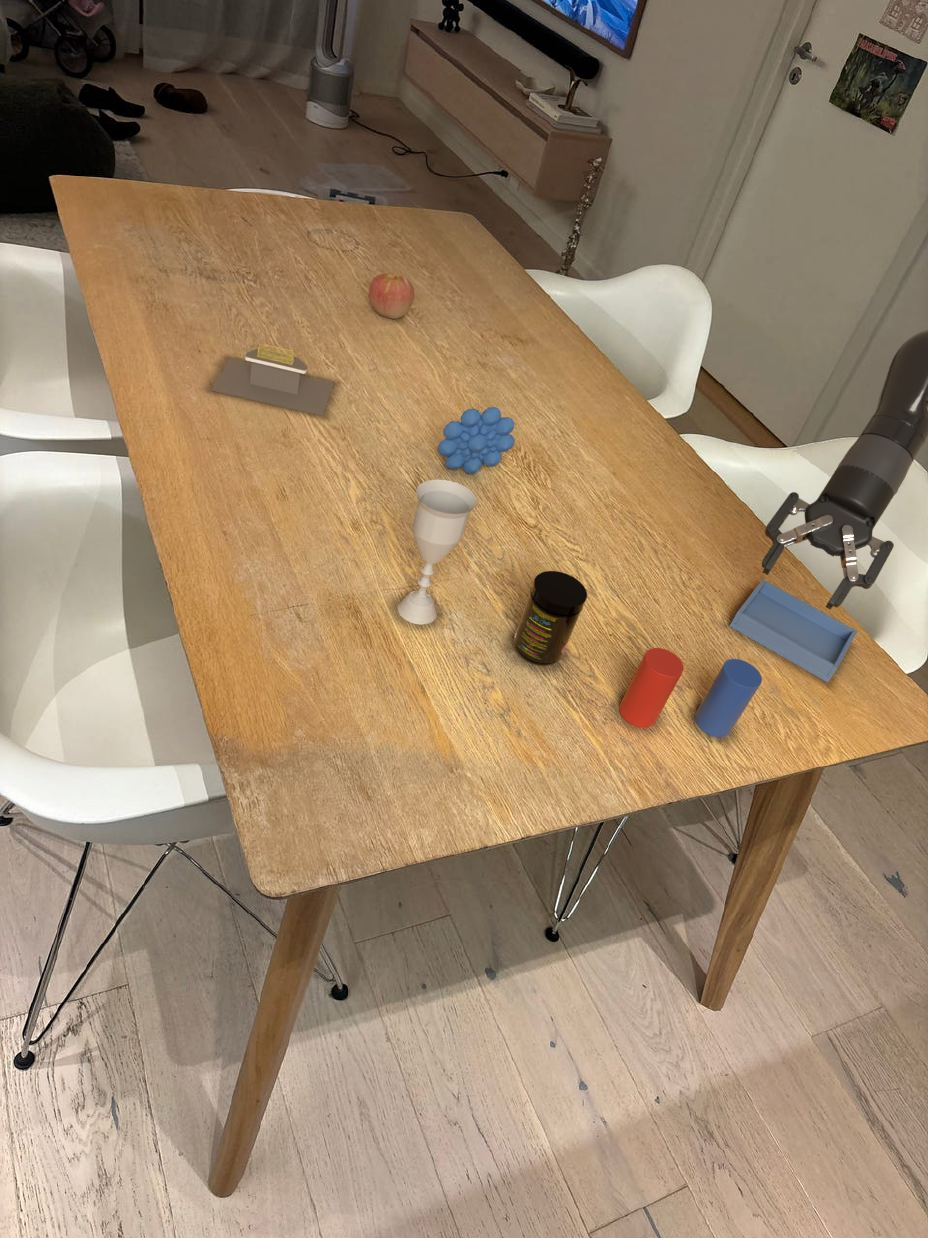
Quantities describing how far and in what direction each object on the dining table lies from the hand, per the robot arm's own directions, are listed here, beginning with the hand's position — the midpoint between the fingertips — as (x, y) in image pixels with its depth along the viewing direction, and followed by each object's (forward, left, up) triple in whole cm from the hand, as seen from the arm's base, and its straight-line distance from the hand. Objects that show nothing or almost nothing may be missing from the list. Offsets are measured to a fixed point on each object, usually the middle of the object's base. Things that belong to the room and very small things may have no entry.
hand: (796, 589), depth 113 cm
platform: (+88, -3, -16) cm, 89 cm away
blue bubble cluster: (+53, -10, -16) cm, 56 cm away
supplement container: (+23, +18, -16) cm, 33 cm away
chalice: (+38, +24, -16) cm, 47 cm away
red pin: (+8, +18, -16) cm, 25 cm away
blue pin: (0, +12, -16) cm, 19 cm away
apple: (+96, -44, -16) cm, 107 cm away
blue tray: (-2, -14, -16) cm, 21 cm away
